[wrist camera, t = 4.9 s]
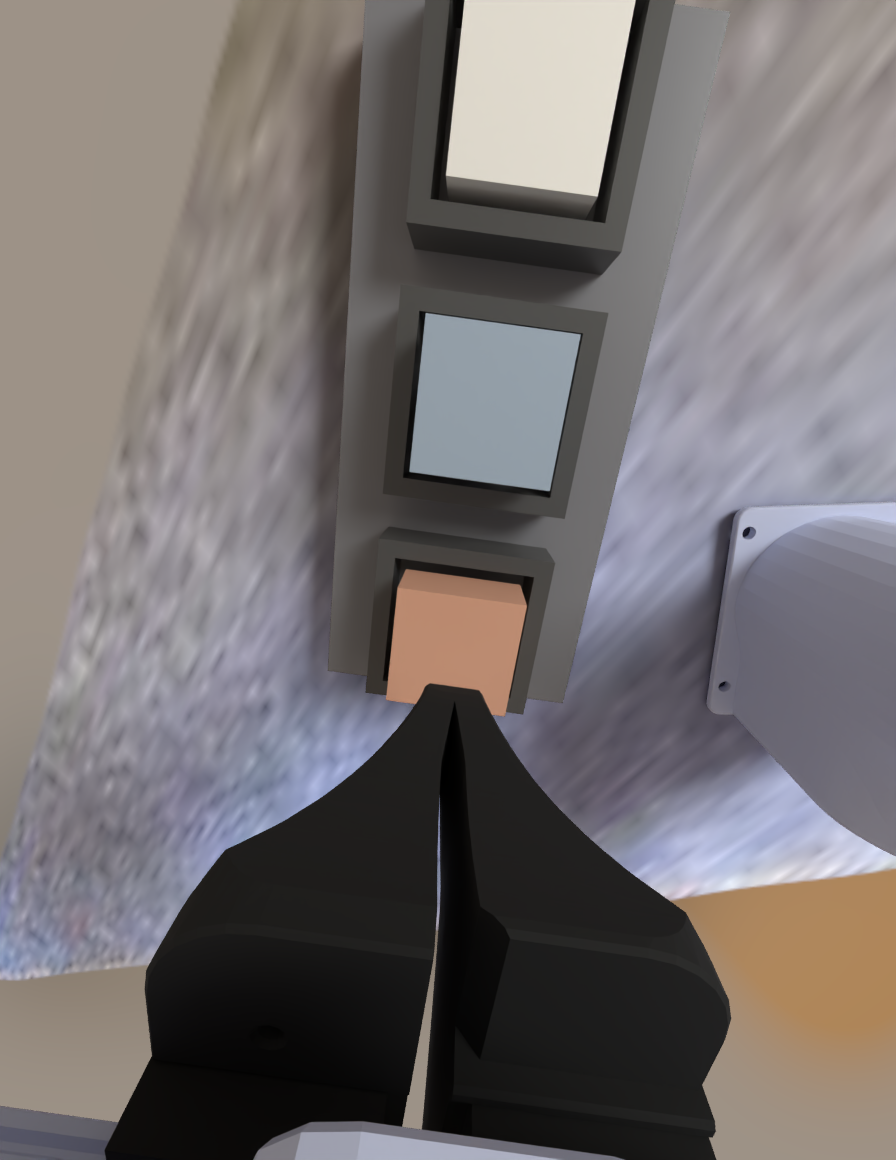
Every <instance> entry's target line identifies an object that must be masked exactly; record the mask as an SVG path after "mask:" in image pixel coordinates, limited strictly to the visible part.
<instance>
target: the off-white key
mask: <svg viewBox="0 0 896 1160" xmlns="http://www.w3.org/2000/svg"><path fill="white" fill-rule="evenodd" d="M635 1H636V0H465V1H464V10H463V20H462V29H461V39H460V48H459V58H458V67H457V76H456V86H455V95H454V105H453V114H452V123H451V133H450V142H449V152H448V161H447V171H446V181H447V192H448V202H456V203H463V204H470V205H477V206H484V207H492V208H499V209H506V210H513V211H521V212H528V213H535V214H542V215H550V216H557V217H564V218H571V219H578V220H585V219H586V217H587V215H588V213H589V211H590V210H591V208H592V206H593V204H594V202H595V201H596V199H597V197H598V193H599V187H600V182H601V177H602V172H603V167H604V161H605V156H606V151H607V146H608V141H609V136H610V130H611V125H612V120H613V115H614V110H615V105H616V99H617V94H618V89H619V84H620V79H621V73H622V68H623V63H624V58H625V53H626V48H627V42H628V37H629V32H630V27H631V22H632V16H633V11H634V6H635Z"/></svg>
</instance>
